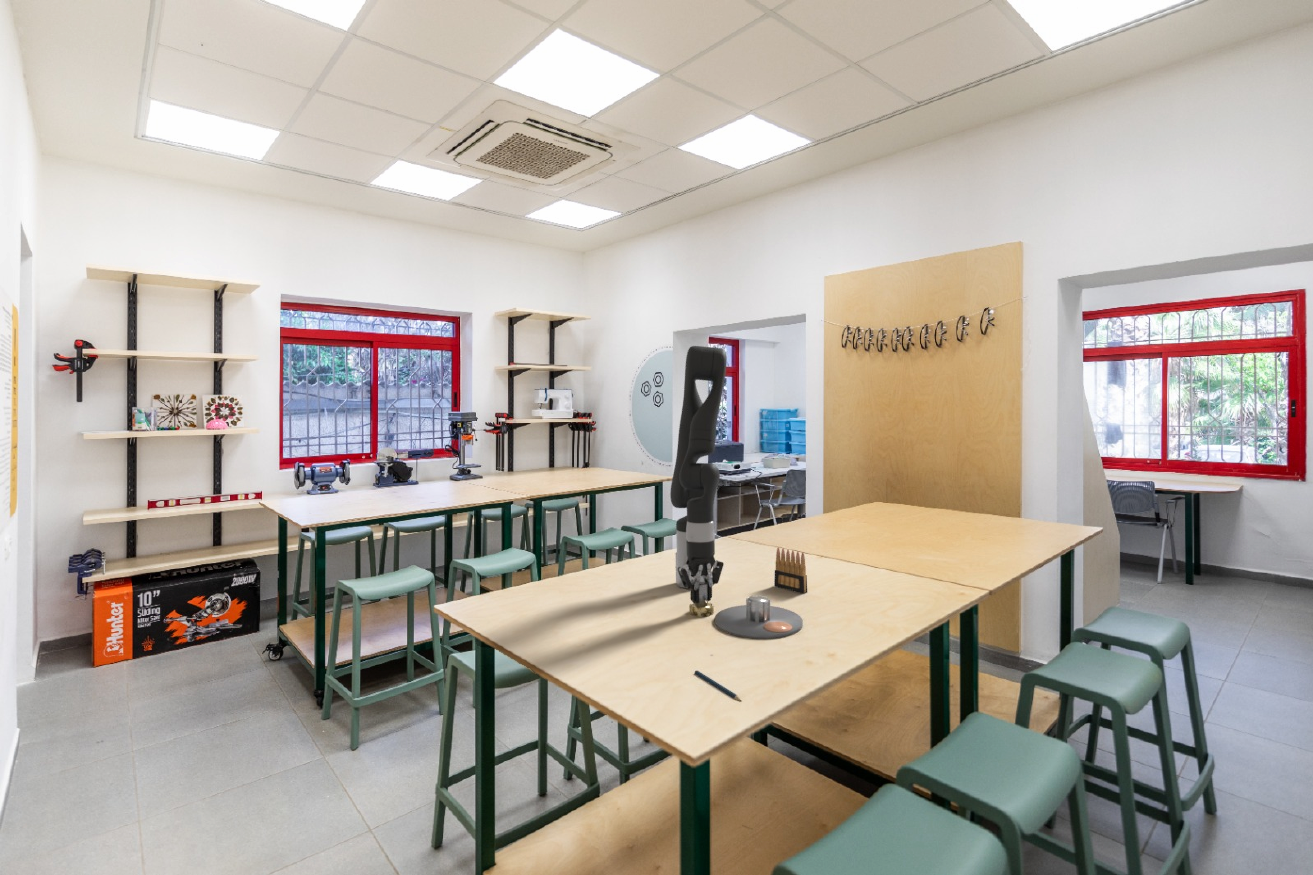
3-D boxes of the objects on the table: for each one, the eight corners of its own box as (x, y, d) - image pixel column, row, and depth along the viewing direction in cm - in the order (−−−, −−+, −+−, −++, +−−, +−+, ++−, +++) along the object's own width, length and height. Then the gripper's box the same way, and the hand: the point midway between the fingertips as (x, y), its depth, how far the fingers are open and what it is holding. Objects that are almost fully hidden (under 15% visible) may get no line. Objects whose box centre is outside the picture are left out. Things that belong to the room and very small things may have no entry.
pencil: (698, 674, 132) (743, 702, 120) (694, 675, 132) (739, 704, 119) (698, 670, 132) (743, 698, 120) (694, 671, 132) (739, 699, 119)
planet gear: (685, 611, 171) (684, 582, 170) (704, 607, 174) (704, 578, 173) (698, 618, 165) (697, 588, 165) (718, 614, 168) (717, 584, 168)
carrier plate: (698, 618, 165) (698, 595, 165) (764, 603, 176) (764, 582, 176) (751, 645, 146) (751, 620, 146) (821, 627, 157) (821, 603, 157)
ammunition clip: (807, 592, 186) (807, 552, 185) (803, 593, 184) (803, 553, 184) (777, 585, 194) (777, 546, 193) (774, 586, 192) (773, 547, 192)
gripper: (714, 532, 175) (714, 593, 176) (670, 538, 168) (671, 602, 169) (730, 537, 169) (731, 600, 170) (685, 543, 162) (686, 610, 163)
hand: (701, 601), depth 169 cm, fingers closed on planet gear, 3 cm apart
